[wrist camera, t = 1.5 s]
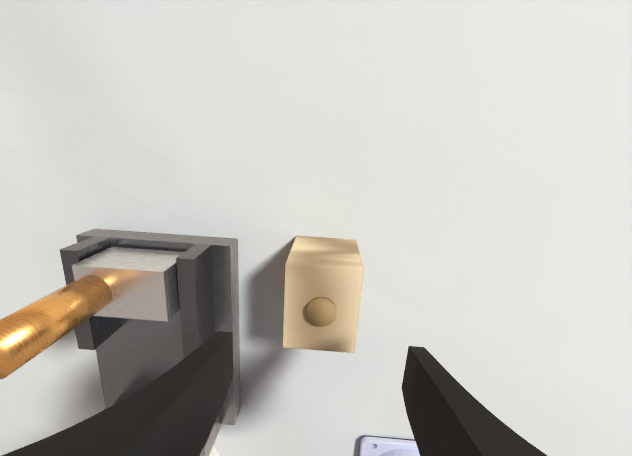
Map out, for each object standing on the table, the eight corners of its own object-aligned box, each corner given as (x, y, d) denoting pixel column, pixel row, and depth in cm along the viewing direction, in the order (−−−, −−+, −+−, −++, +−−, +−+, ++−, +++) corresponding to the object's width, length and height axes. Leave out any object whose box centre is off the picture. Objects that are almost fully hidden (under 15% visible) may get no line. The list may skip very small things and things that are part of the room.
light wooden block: (355, 239, 20) (364, 272, 14) (349, 305, 21) (355, 356, 16) (296, 235, 20) (284, 266, 15) (293, 301, 21) (282, 350, 16)
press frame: (237, 239, 20) (211, 264, 16) (240, 408, 24) (220, 466, 19) (94, 229, 20) (29, 251, 16) (120, 397, 24) (74, 452, 20)
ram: (189, 252, 18) (83, 332, 10) (192, 295, 19) (95, 399, 11) (111, 246, 18) (-51, 321, 11) (117, 289, 19) (-29, 388, 11)
